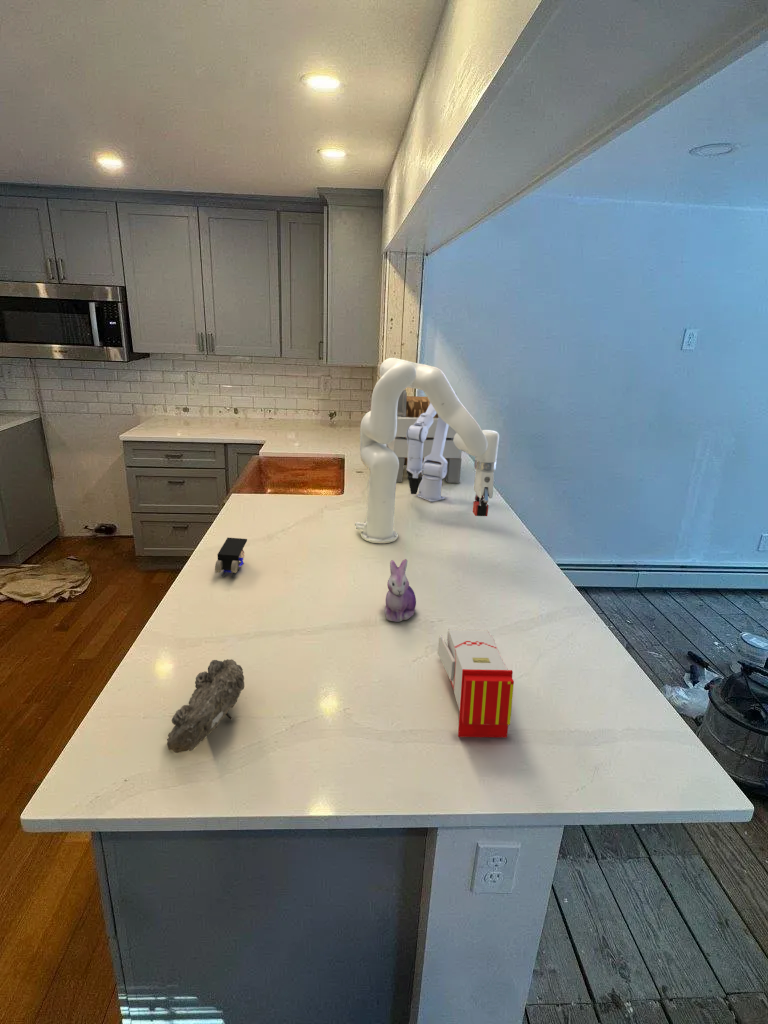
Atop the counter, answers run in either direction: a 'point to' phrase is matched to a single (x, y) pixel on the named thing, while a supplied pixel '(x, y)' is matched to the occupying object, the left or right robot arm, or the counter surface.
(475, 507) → the cube
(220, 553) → the figurine character
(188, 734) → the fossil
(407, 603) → the figurine
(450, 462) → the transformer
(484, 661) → the toy
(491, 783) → the counter surface
